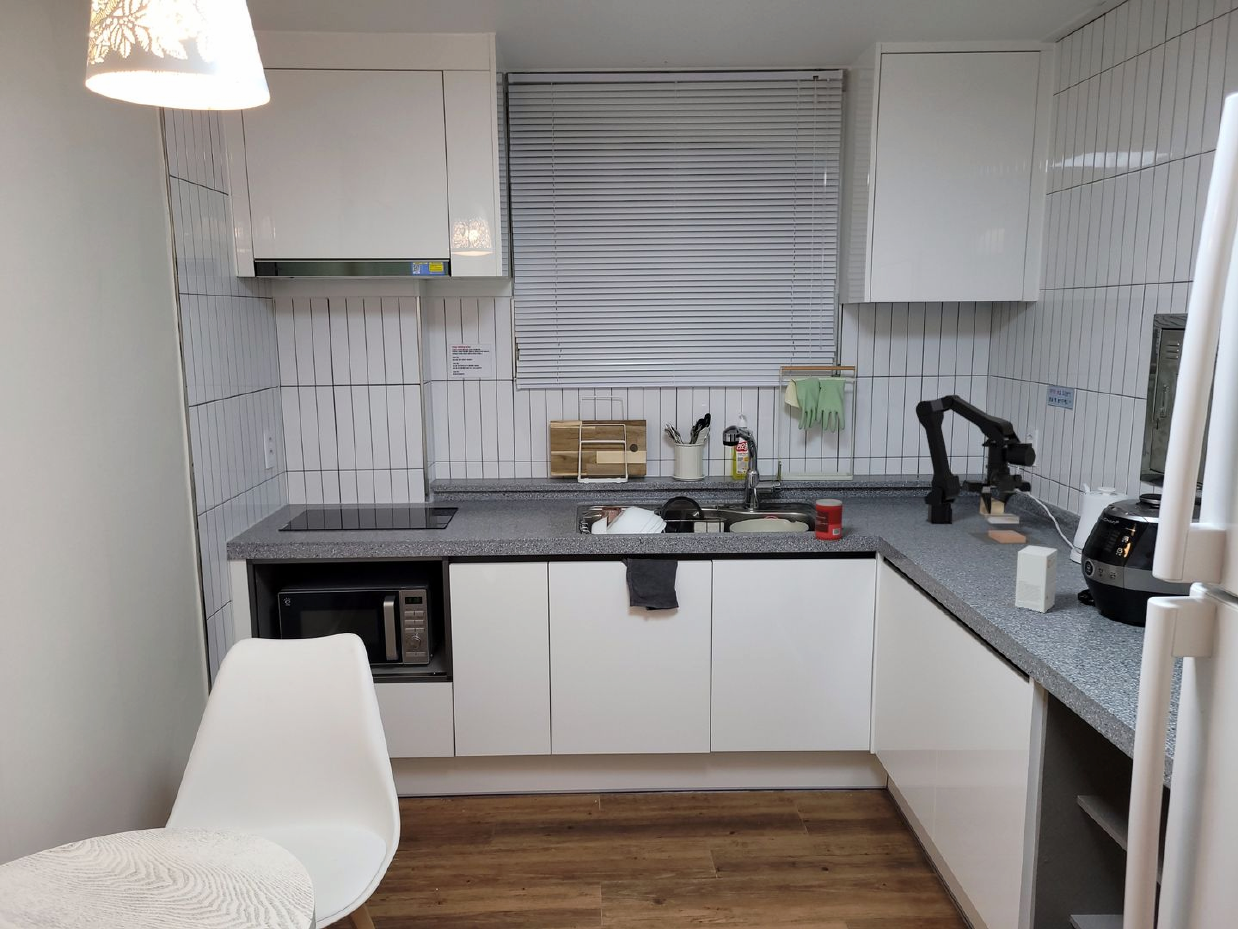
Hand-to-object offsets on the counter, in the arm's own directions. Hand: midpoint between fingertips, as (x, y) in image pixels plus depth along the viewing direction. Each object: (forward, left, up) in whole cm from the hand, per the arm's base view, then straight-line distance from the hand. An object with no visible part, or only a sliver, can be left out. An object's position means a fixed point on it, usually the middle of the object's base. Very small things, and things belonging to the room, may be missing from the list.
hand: (994, 514), depth 275 cm
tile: (0, -5, -5) cm, 7 cm away
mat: (+1, -8, -6) cm, 10 cm away
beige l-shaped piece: (0, 0, -1) cm, 1 cm away
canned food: (-51, -4, -6) cm, 52 cm away
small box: (-21, -73, -6) cm, 76 cm away
